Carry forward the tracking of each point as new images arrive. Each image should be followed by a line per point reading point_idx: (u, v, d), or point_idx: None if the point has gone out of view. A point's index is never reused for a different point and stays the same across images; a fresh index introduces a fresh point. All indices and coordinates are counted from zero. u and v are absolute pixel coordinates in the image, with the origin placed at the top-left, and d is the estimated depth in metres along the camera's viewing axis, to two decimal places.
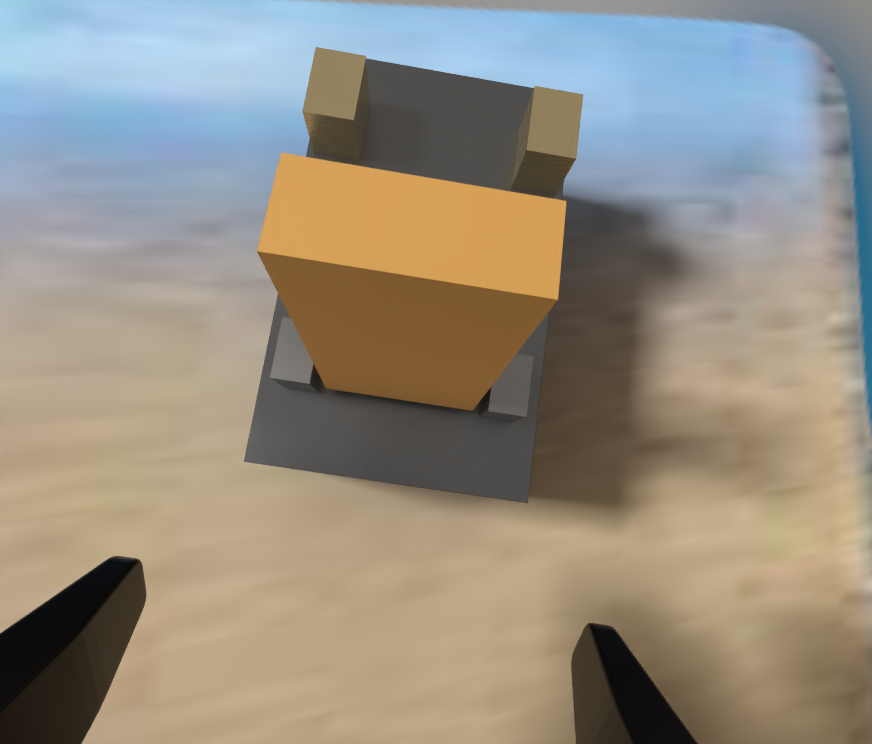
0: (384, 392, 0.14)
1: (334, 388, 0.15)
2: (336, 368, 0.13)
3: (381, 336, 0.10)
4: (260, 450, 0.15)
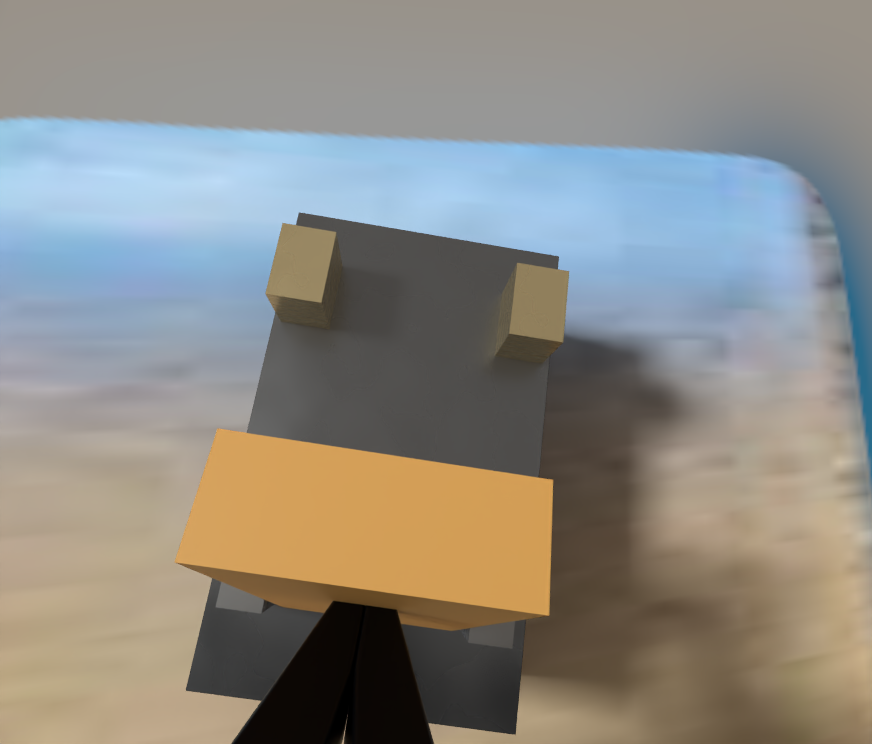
0: None
1: None
2: (291, 603, 0.11)
3: None
4: (205, 675, 0.13)
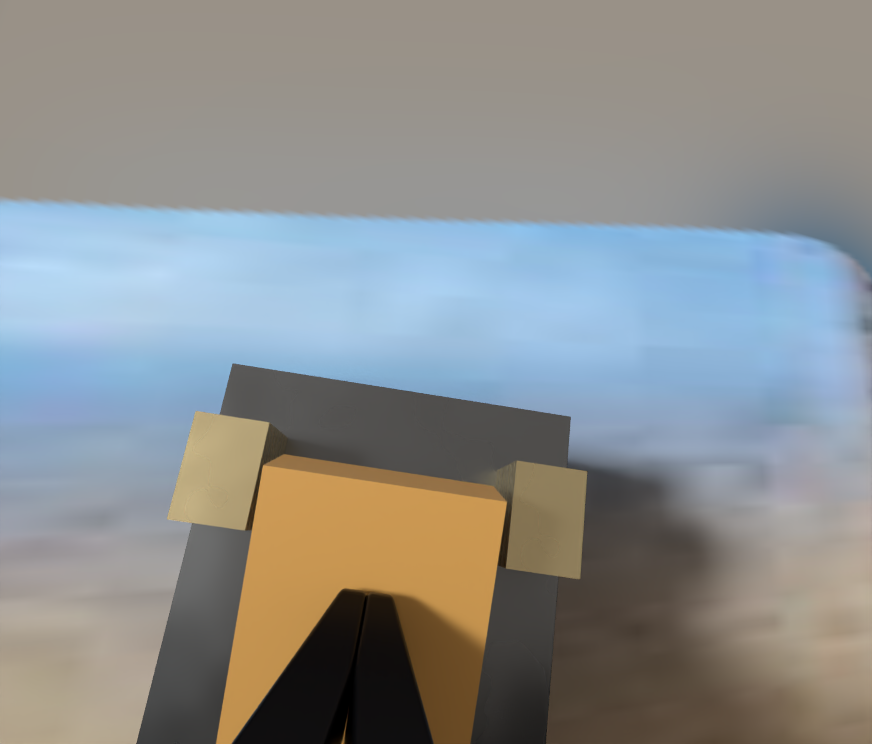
0: None
1: None
2: None
3: None
4: None
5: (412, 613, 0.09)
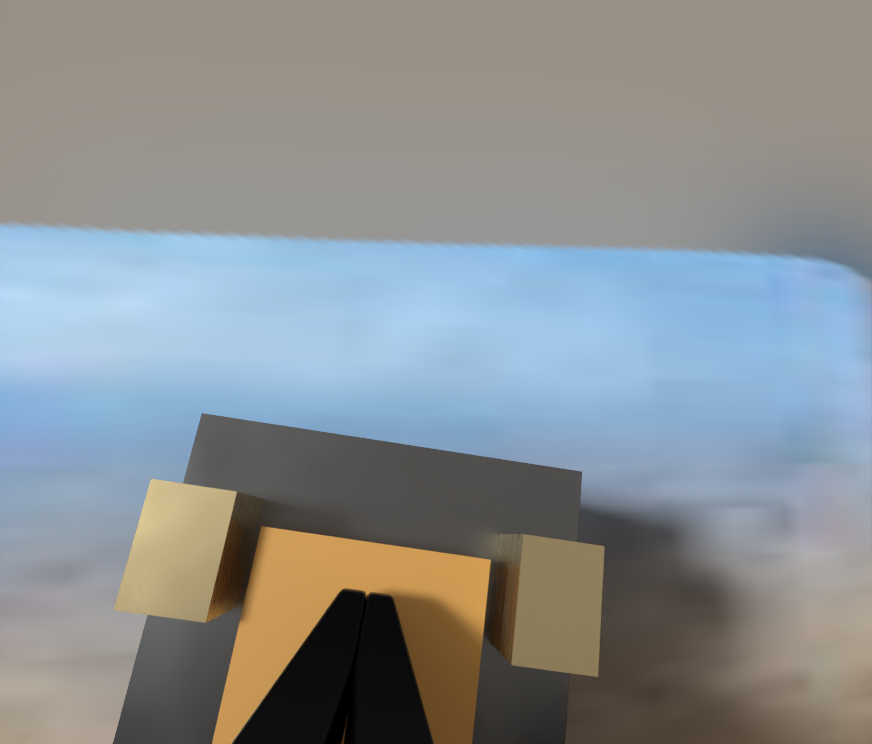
0: None
1: None
2: None
3: None
4: None
5: None
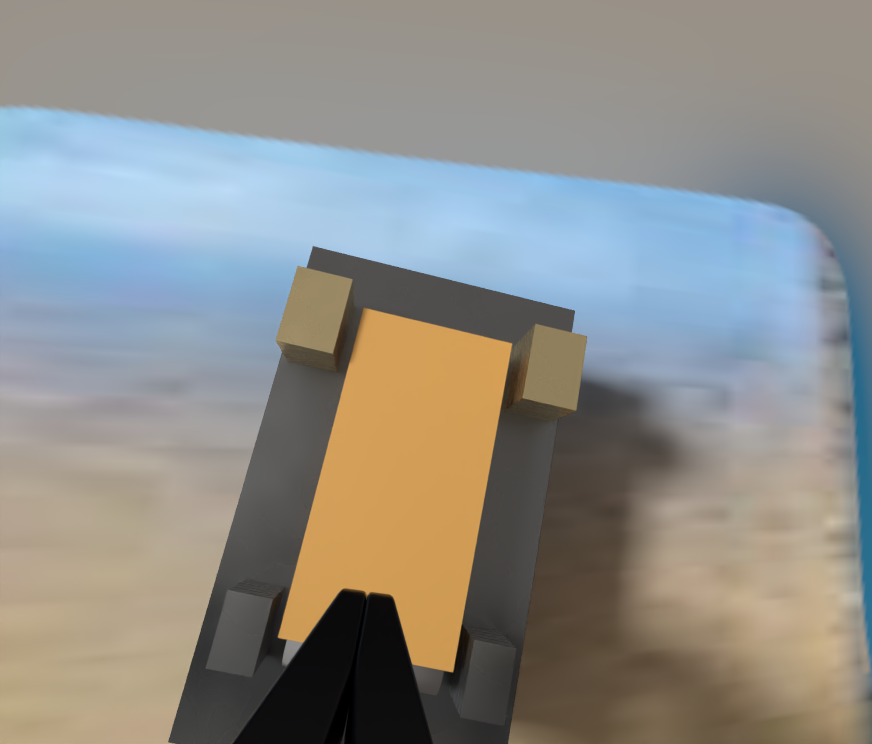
0: None
1: (290, 632, 0.12)
2: (327, 533, 0.13)
3: (400, 424, 0.14)
4: (189, 727, 0.13)
5: (451, 406, 0.14)
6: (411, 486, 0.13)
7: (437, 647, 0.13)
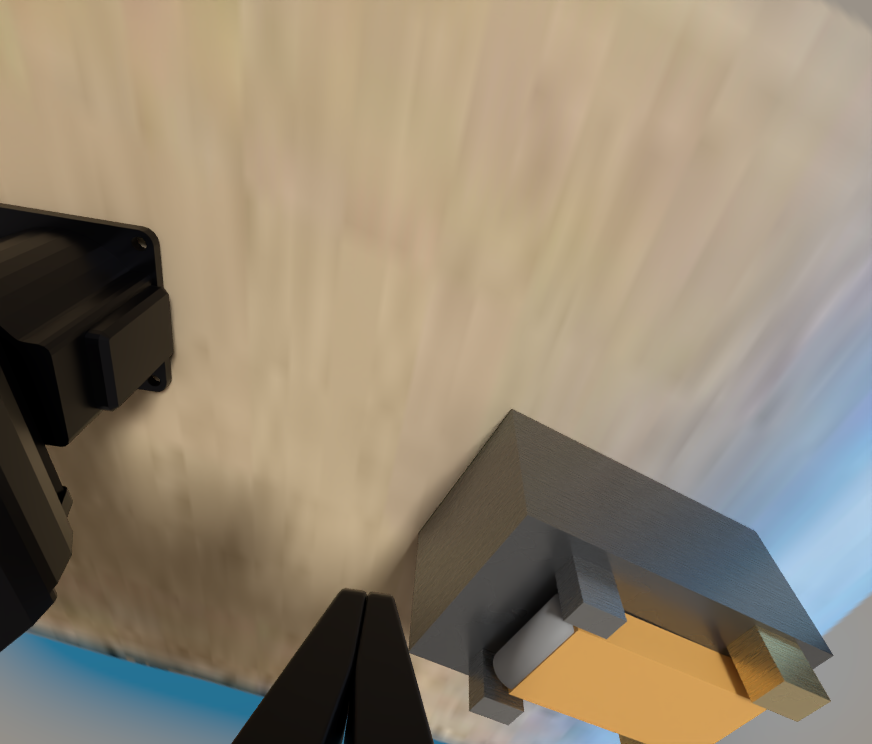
0: (564, 663, 0.18)
1: (577, 635, 0.17)
2: (629, 662, 0.18)
3: (675, 705, 0.19)
4: (530, 527, 0.17)
5: (669, 727, 0.20)
6: (631, 701, 0.19)
7: (527, 691, 0.19)
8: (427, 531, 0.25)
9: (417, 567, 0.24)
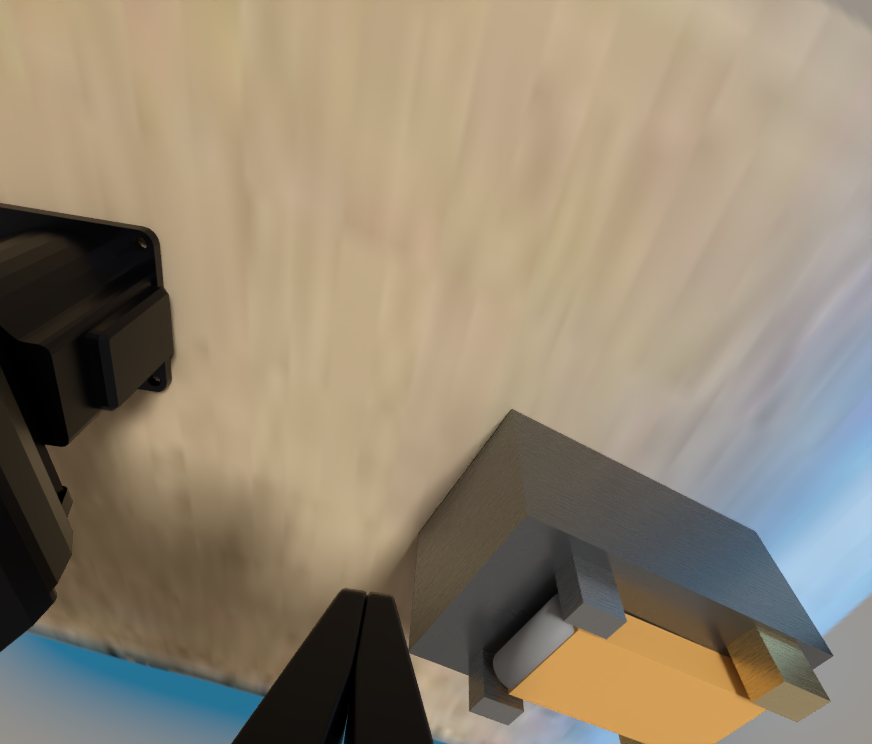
0: (564, 663, 0.18)
1: (577, 636, 0.17)
2: (628, 663, 0.18)
3: (675, 706, 0.19)
4: (530, 527, 0.17)
5: (669, 727, 0.20)
6: (631, 702, 0.19)
7: (526, 691, 0.19)
8: (427, 531, 0.25)
9: (417, 567, 0.24)
